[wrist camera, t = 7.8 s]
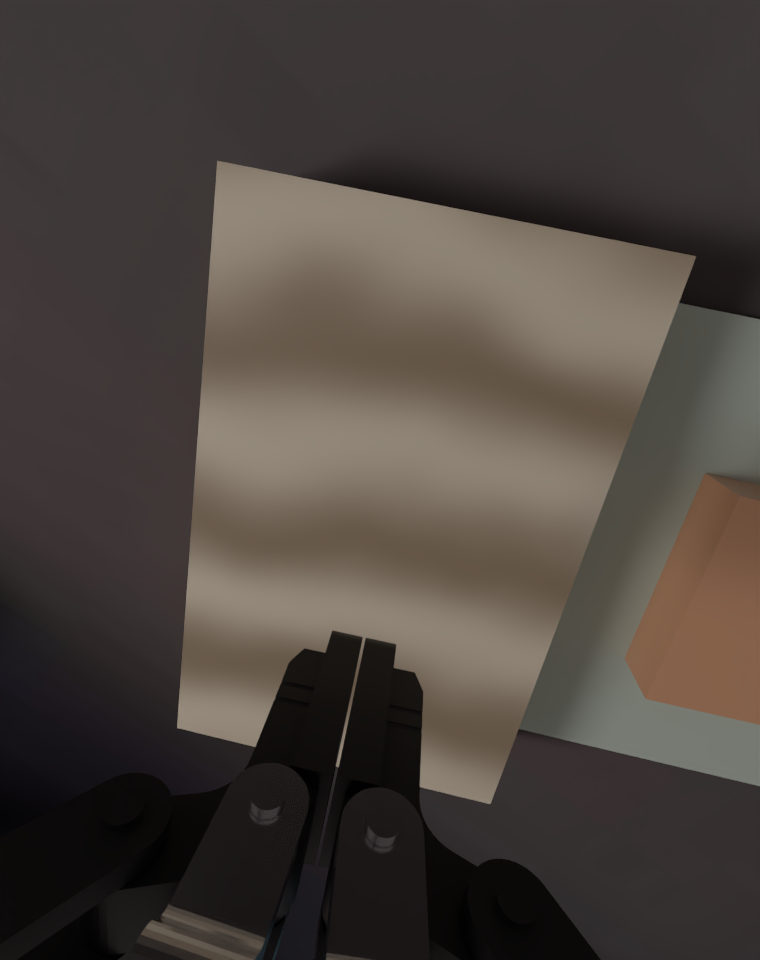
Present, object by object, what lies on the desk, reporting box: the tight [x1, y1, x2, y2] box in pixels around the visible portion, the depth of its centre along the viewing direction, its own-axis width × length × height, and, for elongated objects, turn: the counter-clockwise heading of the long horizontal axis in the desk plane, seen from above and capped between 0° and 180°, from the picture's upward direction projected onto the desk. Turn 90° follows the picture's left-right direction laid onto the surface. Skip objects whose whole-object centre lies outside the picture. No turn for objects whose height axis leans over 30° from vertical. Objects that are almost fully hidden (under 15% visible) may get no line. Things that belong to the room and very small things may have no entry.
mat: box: [519, 303, 760, 786], centre depth 22 cm, size 20×14×1 cm
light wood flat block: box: [177, 161, 696, 804], centre depth 20 cm, size 22×14×4 cm, turn 169°
